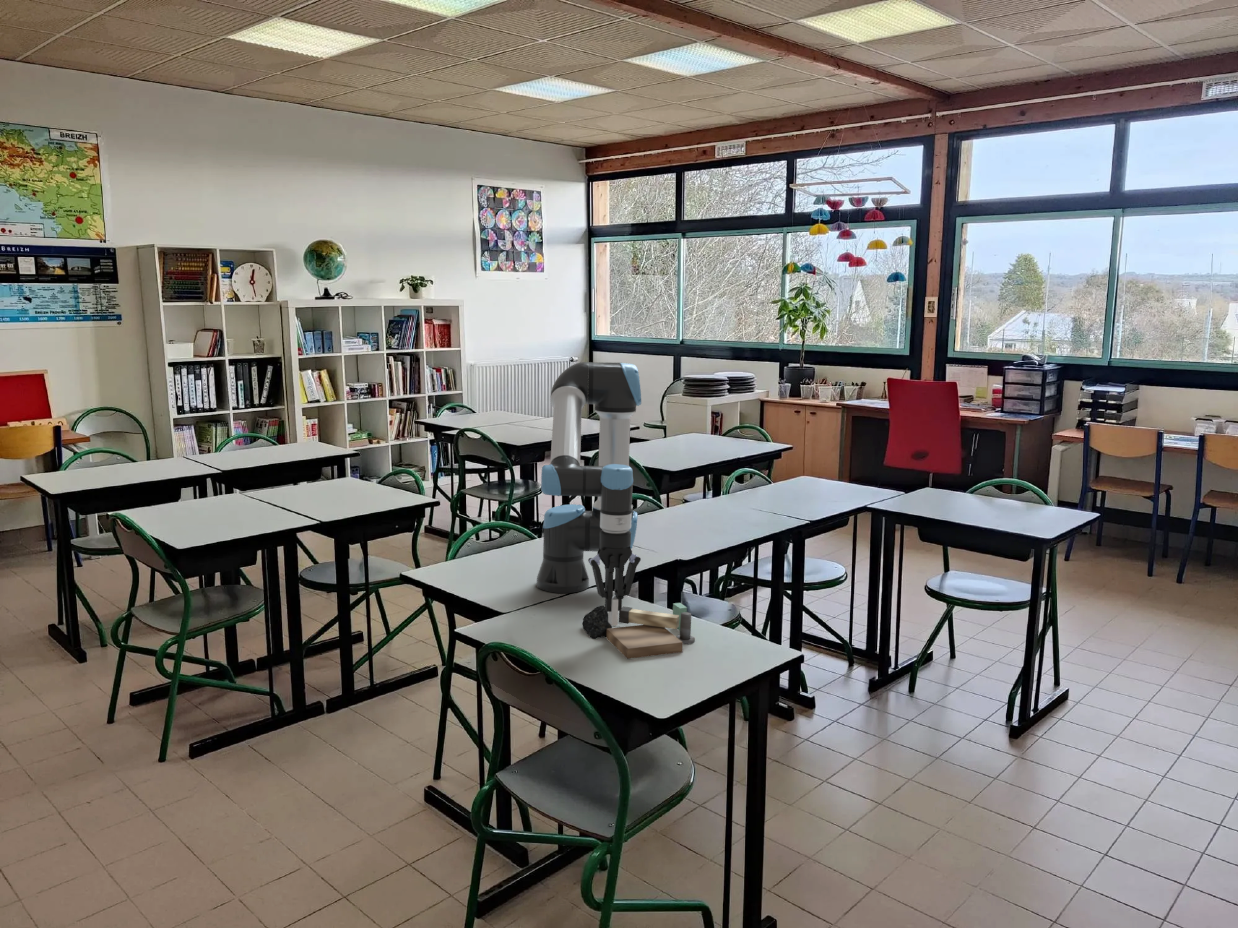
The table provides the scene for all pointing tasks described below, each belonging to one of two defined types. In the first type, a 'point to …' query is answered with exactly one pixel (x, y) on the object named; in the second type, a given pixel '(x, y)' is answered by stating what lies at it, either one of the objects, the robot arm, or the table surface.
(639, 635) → the seat
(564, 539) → the robot arm
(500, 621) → the table surface
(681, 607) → the pale green block
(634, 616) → the leg
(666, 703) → the table surface
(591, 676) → the table surface
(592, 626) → the rock
